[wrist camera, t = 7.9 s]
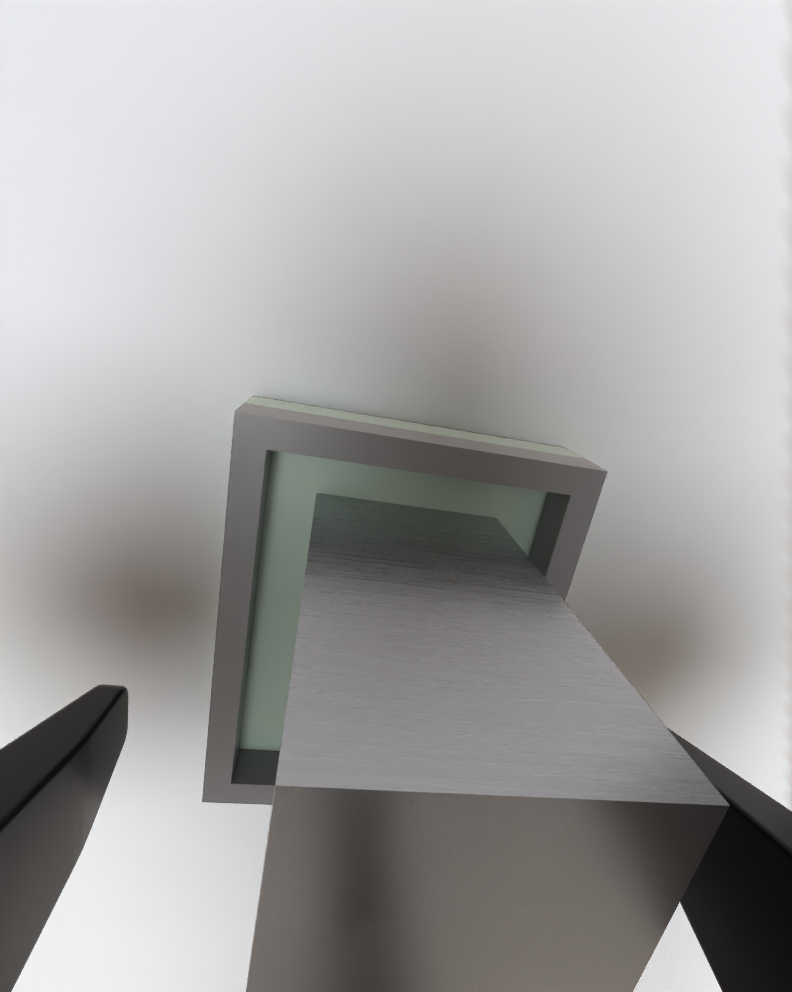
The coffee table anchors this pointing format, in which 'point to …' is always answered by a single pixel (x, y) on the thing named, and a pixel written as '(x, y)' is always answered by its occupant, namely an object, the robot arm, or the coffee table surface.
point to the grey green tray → (286, 535)
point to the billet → (463, 777)
